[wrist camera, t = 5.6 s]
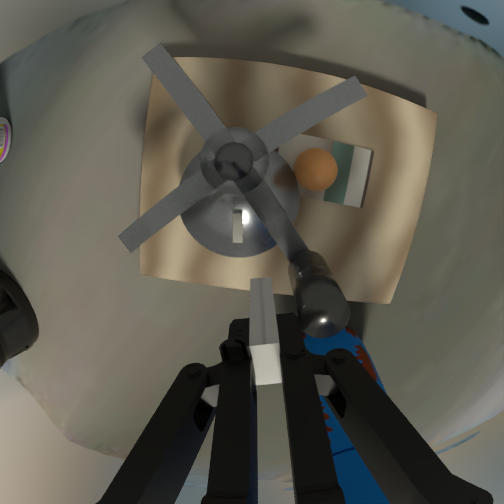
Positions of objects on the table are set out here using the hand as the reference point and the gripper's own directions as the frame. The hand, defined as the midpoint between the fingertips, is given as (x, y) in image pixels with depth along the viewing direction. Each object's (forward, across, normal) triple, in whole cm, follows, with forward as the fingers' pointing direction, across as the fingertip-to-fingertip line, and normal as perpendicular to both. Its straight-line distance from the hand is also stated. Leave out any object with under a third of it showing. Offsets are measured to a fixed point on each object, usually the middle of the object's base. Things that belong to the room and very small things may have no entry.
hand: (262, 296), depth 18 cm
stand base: (+11, +4, +6) cm, 13 cm away
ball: (+8, +5, +7) cm, 12 cm away
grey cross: (+8, -1, +9) cm, 12 cm away
